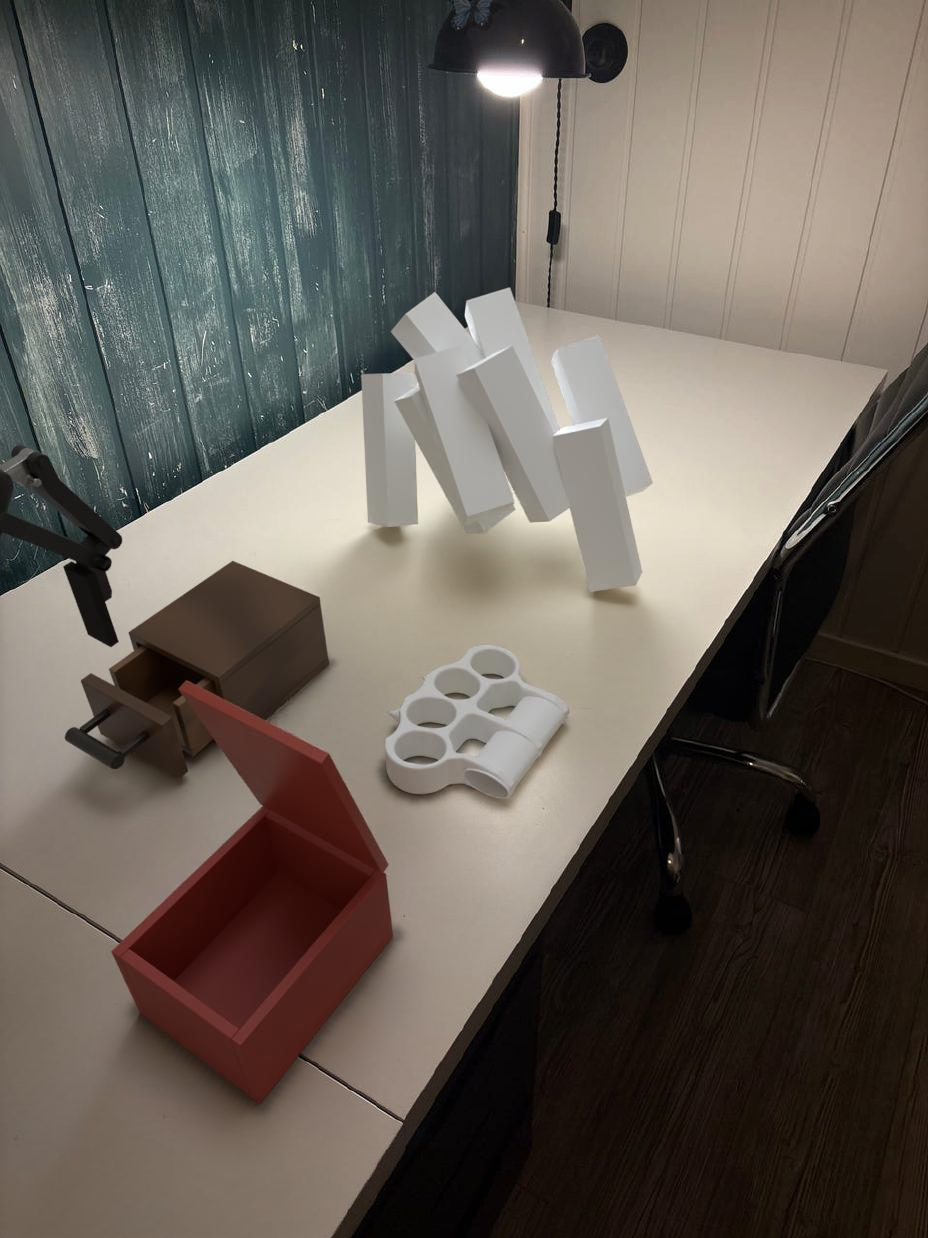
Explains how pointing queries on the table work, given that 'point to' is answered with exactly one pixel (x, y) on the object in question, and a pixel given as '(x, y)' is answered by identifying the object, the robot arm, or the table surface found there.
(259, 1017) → the chest
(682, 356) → the table surface
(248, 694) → the cabinet
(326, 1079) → the table surface
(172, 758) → the drawer
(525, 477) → the pile of blocks
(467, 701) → the white brass knuckles
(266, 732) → the lid
